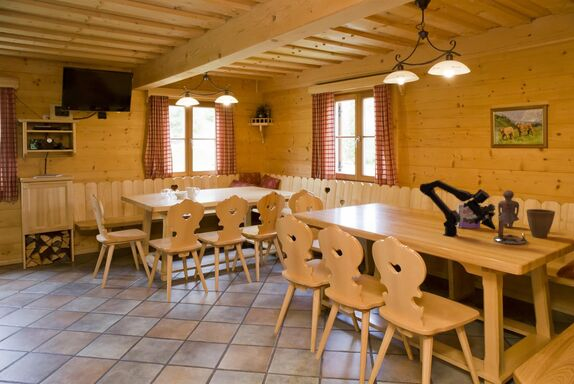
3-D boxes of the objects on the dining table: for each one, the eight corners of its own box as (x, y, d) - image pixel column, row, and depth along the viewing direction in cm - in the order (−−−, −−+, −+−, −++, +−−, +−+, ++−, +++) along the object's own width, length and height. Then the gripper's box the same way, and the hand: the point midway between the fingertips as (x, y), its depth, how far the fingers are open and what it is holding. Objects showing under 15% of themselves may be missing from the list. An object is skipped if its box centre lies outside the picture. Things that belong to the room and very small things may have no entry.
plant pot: (559, 238, 251) (561, 211, 249) (537, 239, 249) (538, 213, 247) (541, 233, 266) (542, 208, 264) (519, 234, 263) (520, 209, 261)
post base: (487, 240, 250) (487, 232, 249) (506, 237, 258) (506, 229, 257) (513, 246, 235) (514, 237, 234) (533, 242, 243) (533, 234, 242)
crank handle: (493, 238, 246) (494, 219, 245) (507, 236, 252) (508, 217, 251) (513, 242, 235) (514, 222, 234) (528, 240, 241) (528, 220, 240)
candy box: (458, 228, 286) (459, 204, 284) (456, 226, 292) (457, 203, 290) (480, 228, 284) (480, 204, 282) (477, 227, 289) (478, 203, 287)
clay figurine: (519, 226, 287) (520, 190, 284) (518, 229, 279) (520, 191, 276) (497, 225, 294) (499, 189, 291) (496, 227, 285) (497, 190, 283)
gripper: (479, 201, 241) (499, 222, 234) (492, 198, 254) (511, 218, 247) (465, 213, 248) (484, 234, 241) (478, 209, 260) (497, 229, 254)
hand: (494, 229), depth 246 cm, fingers closed
